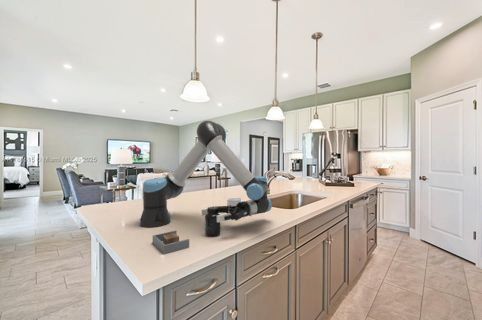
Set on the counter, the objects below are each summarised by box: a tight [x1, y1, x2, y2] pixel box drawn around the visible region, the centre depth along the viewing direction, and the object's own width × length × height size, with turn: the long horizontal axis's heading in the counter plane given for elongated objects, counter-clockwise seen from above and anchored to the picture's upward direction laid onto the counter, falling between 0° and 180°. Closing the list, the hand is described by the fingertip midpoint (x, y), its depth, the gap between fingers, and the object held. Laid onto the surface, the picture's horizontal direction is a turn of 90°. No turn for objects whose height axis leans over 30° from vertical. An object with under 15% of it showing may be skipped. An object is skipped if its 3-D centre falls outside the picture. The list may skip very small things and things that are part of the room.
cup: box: [226, 197, 245, 215], centre depth 131 cm, size 8×12×10 cm
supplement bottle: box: [204, 206, 221, 238], centre depth 99 cm, size 7×7×12 cm
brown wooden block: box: [162, 233, 180, 245], centre depth 88 cm, size 5×5×4 cm
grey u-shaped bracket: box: [152, 230, 190, 255], centre depth 87 cm, size 10×14×3 cm
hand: (209, 215), depth 98 cm, fingers open, 13 cm apart
